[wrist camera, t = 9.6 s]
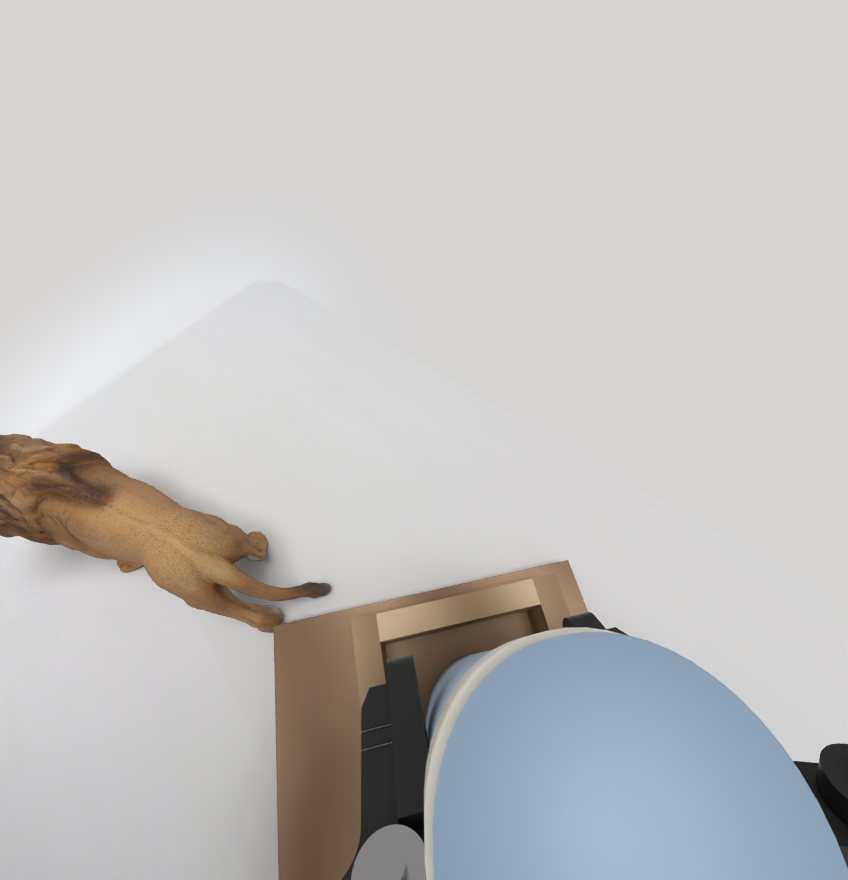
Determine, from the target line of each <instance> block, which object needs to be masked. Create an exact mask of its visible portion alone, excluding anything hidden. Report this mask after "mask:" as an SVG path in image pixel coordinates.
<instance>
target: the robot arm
mask: <svg viewBox="0 0 848 880" xmlns="http://www.w3.org/2000/svg"><path fill="white" fill-rule="evenodd" d="M578 627H587V628H595V629H602V630H606V629H605V627H604V626H603V625H602V624H601V623H600V622H599V620H598V619H597V618H596V617H595V616H594V615H593V614H592V613H591V612H586V613H582V614H578V615H574V616H570V617H566V618H564V619H563V628H578ZM607 630H608V631H612V632H616V633H619V634H623V635H627V634H625V633H624V632H622V631H621V630H619V629H617V628H616V627H615V628H611V629H607ZM628 636H629V635H628ZM386 667H387V681H388V683H386V684H382V685H378V686H374V687H370V688H369V690H368V693H367V695H366V698H365V700H364V703H363V705H362V708H361V732H362V734H361V751H362V753H361V833H360V840H359V845H358V848H357V852H356V855H355V857H354V859H353V862H352V864H351V865H350V867H349V869H348V871H347V872H346V874H345V875H344V877H343V878H342V880H427V878H426V868H425V846H424V782H425V771H426V763H427V757H428V752H429V749H428V736H427V730H426V724H425V718H424V712H423V707H422V701H421V696H420V690H419V685H418V680H417V674H416V669H415V664H414V659H413V654H410V655H406V656H402V657H398V658H394V659H390V660H386ZM793 762H794V764H795V765H796V767H797V768H798V769H799V771H800V772H801V774H802V776H803V777H804V779H805V781H806V782H807V784H808V786H809V788H810V789H811V791H812V793H813V794H814V796H815V798H816V799H817V801H818V803H819V805H820V807H821V809H822V811H823V813H824V815H825V817H826V819H827V821H828V823H829V825H830V827H831V829H832V831H833V833H834V835H835V838H836V840H837V842H838V845H839V848H840V850H841V853H842V855H843V858H844V860H845V863H846V865H847V868H848V744H839V743H838V744H831V745H828V746H826V747H825V748H824V749H823V750H822V751H821V754H820V759H819V763H810V762H799V761H793Z"/></svg>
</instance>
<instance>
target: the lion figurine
mask: <svg viewBox="0 0 848 880" xmlns="http://www.w3.org/2000/svg"><path fill="white" fill-rule="evenodd" d="M0 535H1V536H3V537H14V536H20V537H23V538H26V539H28V540H30V541H35V542H39V543H45V544H48V545H59V544H60V545H63V546H65V547H67V548H69V549H72V550H79V551H81V552H83V553H85V554H88V555H90V556H93V557H96V558H102V559H115V560H118V561H117V565H118V566H119V567H120V570H121V571H122V572H125V573H126V572H131V571H134V570H136V569H138V568H140V567H141V566H142V565H143V566H144V568H145V569H146V571H147V572H148V574H149V575H150V577H151V578H152V580H153V581H154V582H155V583H156V584H157V585H158V586H159V587H161V588H163V589H165V590H166V591H168V592H170V593H172V594H174V595H176V596H178V597H180V598H181V599H183V600H184V601H185V602H186V603H187V604H188V605H189V606H191V607H194V608H197V609H201V610H205V611H208V612H212V613H215V614H219V615H223V616H227V617H231V618H235V619H237V620H240V621H243V622H245V623H247V624H249V625H250V626H252V627H255V628H258V629H259V630H260V631H263V632H274V626H276V625H280V624H281V622H282V618H283V615H282V613H281V611H280V610H279V609H277V608H276V607H274V606H263V607H262V606H259V605H253V604H249V603H246V602H243V601H241V600H239V599H238V598H237V597H235V596H234V595H233V594H232V593H231V592H230V591H229V590H228V588H227V587H229V588H232V589H234V590H237V591H239V592H242V593H244V594H247V595H250V596H254V597H257V598H261V599H265V600H270V601H284V600H291V599H296V598H299V597H311V598H317V597H319V596H324V595H326V594H328V593H329V592H330V588H331V587H330V585H329V584H325V583H319V584H318V583H312V582H308V583H305V584H303V585H300V586H296V587H291V588H278V587H274V586H269V585H266V584H263V583H261V582H259V581H257V580H255V579H253V578H251V577H250V576H248V575H246V574H244V573H243V572H241V571H240V570H238V569H237V566H236V565H235V564H234V562H236V561H238V560H240V559H241V558H243V557H245V556H248V557H249V558H250V559H252V560H263V559H264V558H265V557H266V549H267V540H266V538H265V536H264V535H263V534H262V533H261V532H251V533H249V534H248V535H247V534H246V533H244V532H243V531H242V530H241V529H240V528H239V527H237V526H234V525H231V524H228V523H227V522H225V521H224V520H222V519H221V518H219V517H216V516H213V515H207V514H203V513H200V512H197V511H194V510H190V509H186V508H182V507H181V506H180V505H178V504H177V503H176V502H174V501H173V500H171V499H170V498H168V497H167V496H165V495H164V494H163V493H161V492H160V491H158V490H157V489H155V488H154V487H152V486H150V485H148V484H146V483H143V482H141V481H138V480H136V479H132V478H129V477H128V476H127V475H125V474H124V473H122V472H121V471H119V470H116V469H114V468H113V467H112V466H111V464H110V463H109V462H108V461H107V460H106V459H105V458H103V457H102V456H101V455H100V454H98V453H95V452H92V451H89V450H85V449H82V448H80V446H78V445H76V444H54V443H51V442H48V441H45V440H42V439H39V438H37V439H32V438H31V437H29V436H26V435H19V434H11V435H0Z"/></svg>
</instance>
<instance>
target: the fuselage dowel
mask: <svg viewBox="0 0 848 880" xmlns="http://www.w3.org/2000/svg"><path fill="white" fill-rule="evenodd" d="M426 730H427V736H428V749H429V752H428V757H427V763H426V771H425V782H424V846H425V868H426V878H427V880H848V868H847V865H846V863H845V860H844V858H843V855H842V853H841V850H840V848H839V845H838V842H837V840H836V838H835V835H834V833H833V831H832V829H831V827H830V825H829V823H828V821H827V819H826V817H825V815H824V813H823V811H822V809H821V807H820V805H819V803H818V801H817V799H816V798H815V796H814V794H813V793H812V791H811V789H810V788H809V786H808V784H807V782H806V781H805V779H804V777H803V776H802V774H801V772H800V771H799V769H798V768H797V767H796V765H795V764H794V762H793V761H792V759H791V758H790V757H789V755H788V754H787V752H786V751H785V750H784V748H783V747H782V745H781V744H780V743H779V741H778V740H777V739H776V738H775V737H774V735H773V734H772V733H771V732H770V731H769V729H768V728H767V727H766V726H765V725H764V723H763V722H762V721H761V720H760V719H759V718H758V717H757V716H756V715H755V714H754V713H753V712H752V710H751V709H750V708H749V707H748V706H747V705H746V704H745V703H744V702H743V701H742V700H741V699H740V698H739V697H738V696H736V695H735V694H734V693H733V692H732V691H731V690H729V689H728V688H727V687H726V686H725V685H723V684H722V683H721V682H720V681H719V680H717V679H716V678H715V677H714V676H712V675H711V674H709V673H708V672H706V671H705V670H703V669H702V668H700V667H699V666H698V665H696V664H695V663H693V662H692V661H690V660H688V659H686V658H684V657H682V656H680V655H679V654H677V653H675V652H673V651H671V650H669V649H667V648H664V647H662V646H659V645H657V644H654V643H652V642H649V641H647V640H643V639H639V638H635V637H632V636H628V635H623V634H619V633H616V632H612V631H608V630H602V629H595V628H587V627H578V628H561V629H555V630H549V631H544V632H540V633H537V634H533V635H529V636H526V637H522V638H519V639H516V640H513V641H510V642H507V643H505V644H503V645H501V646H499V647H497V648H495V649H493V650H490V651H485V652H480V653H475V654H470V655H467V656H464V657H461V658H459V659H457V660H455V661H454V662H452V663H451V664H450V665H448V666H447V667H446V668H445V669H444V670H443V672H442V673H441V674H440V675H439V677H438V678H437V680H436V681H435V683H434V685H433V687H432V690H431V692H430V695H429V698H428V703H427V708H426Z"/></svg>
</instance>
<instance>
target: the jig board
mask: <svg viewBox="0 0 848 880" xmlns="http://www.w3.org/2000/svg"><path fill="white" fill-rule="evenodd" d="M586 612H588V611H587V608H586V606H585V603H584V601H583V598H582V595H581V593H580V590H579V588H578V585H577V582H576V580H575V577H574V575H573V572H572V569H571V567H570V564H569V562H568V560H566V561H562V562H557V563H553V564H548V565H544V566H539V567H535V568H530V569H526V570H522V571H517V572H513V573H508V574H504V575H499V576H495V577H490V578H486V579H481V580H477V581H473V582H468V583H464V584H459V585H455V586H450V587H446V588H441V589H437V590H432V591H428V592H423V593H419V594H415V595H410V596H406V597H401V598H397V599H392V600H388V601H383V602H379V603H374V604H370V605H365V606H361V607H357V608H352V609H348V610H343V611H339V612H334V613H330V614H325V615H321V616H316V617H312V618H307V619H303V620H299V621H294V622H290V623H285V624H281V625H276V626H274V662H275V713H276V763H277V813H278V864H279V880H342V878H343V877H344V875H345V874H346V872H347V871H348V869H349V867H350V865H351V864H352V862H353V859H354V857H355V855H356V852H357V848H358V845H359V840H360V833H361V753H362V751H361V734H362V732H361V708H362V705H363V703H364V700H365V698H366V695H367V693H368V690H369V688H370V687H374V686H378V685H382V684H386V683H388V681H387V667H386V660H390V659H394V658H398V657H402V656H406V655H410V654H413V659H414V664H415V669H416V674H417V680H418V685H419V690H420V696H421V701H422V707H423V712H424V718H425V724H426V708H427V703H428V698H429V695H430V692H431V690H432V687H433V685H434V683H435V681H436V680H437V678H438V677H439V675H440V674H441V673H442V672H443V670H444V669H445V668H446V667H447V666H448V665H450V664H451V663H452V662H454V661H455V660H457V659H459V658H461V657H464V656H467V655H470V654H475V653H480V652H485V651H490V650H493V649H495V648H497V647H499V646H501V645H503V644H505V643H507V642H510V641H513V640H516V639H519V638H522V637H526V636H529V635H533V634H537V633H540V632H544V631H549V630H555V629H561V628H563V619H564V618H566V617H570V616H574V615H578V614H582V613H586Z"/></svg>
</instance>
